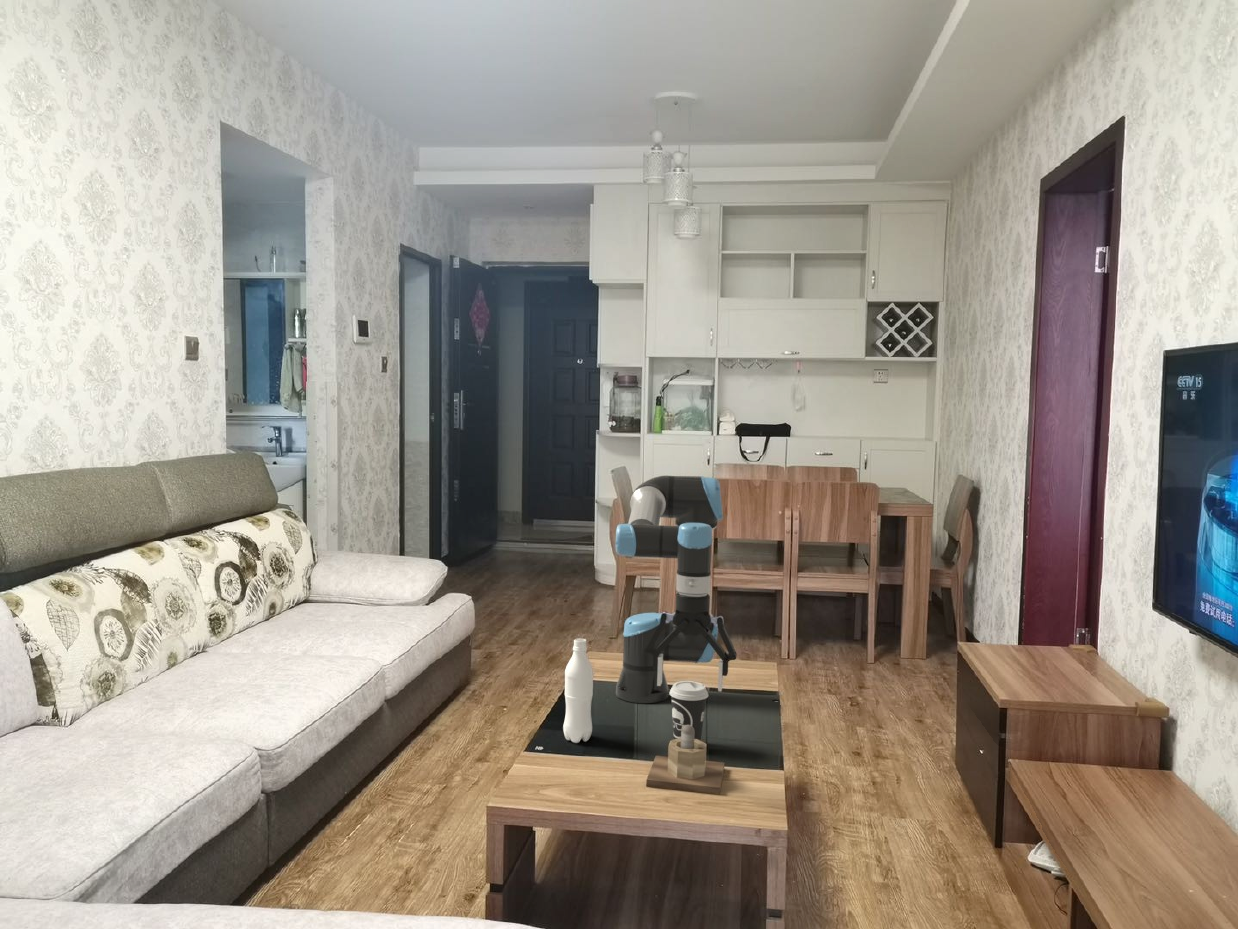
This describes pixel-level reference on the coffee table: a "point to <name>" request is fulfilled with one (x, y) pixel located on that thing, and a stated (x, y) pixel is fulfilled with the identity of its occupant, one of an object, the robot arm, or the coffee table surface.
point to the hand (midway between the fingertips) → (689, 687)
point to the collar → (687, 759)
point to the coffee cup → (688, 707)
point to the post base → (702, 784)
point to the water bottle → (578, 694)
